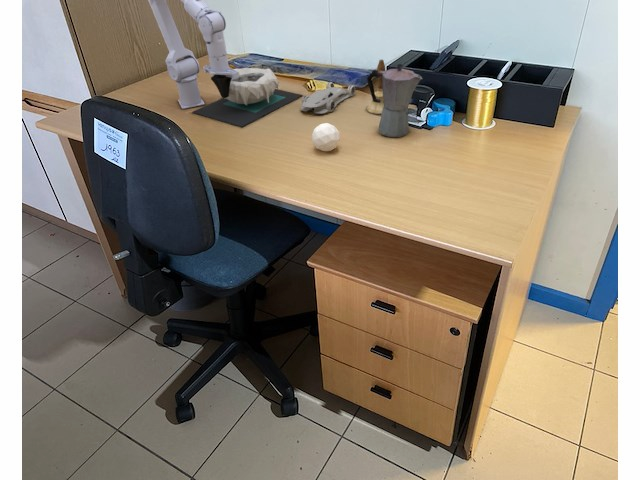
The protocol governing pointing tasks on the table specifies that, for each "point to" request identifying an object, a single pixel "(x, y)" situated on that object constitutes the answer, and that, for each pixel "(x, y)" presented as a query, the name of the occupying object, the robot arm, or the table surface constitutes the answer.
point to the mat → (246, 108)
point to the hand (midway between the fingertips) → (225, 97)
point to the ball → (325, 137)
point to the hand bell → (378, 93)
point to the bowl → (252, 86)
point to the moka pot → (394, 99)
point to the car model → (326, 99)
